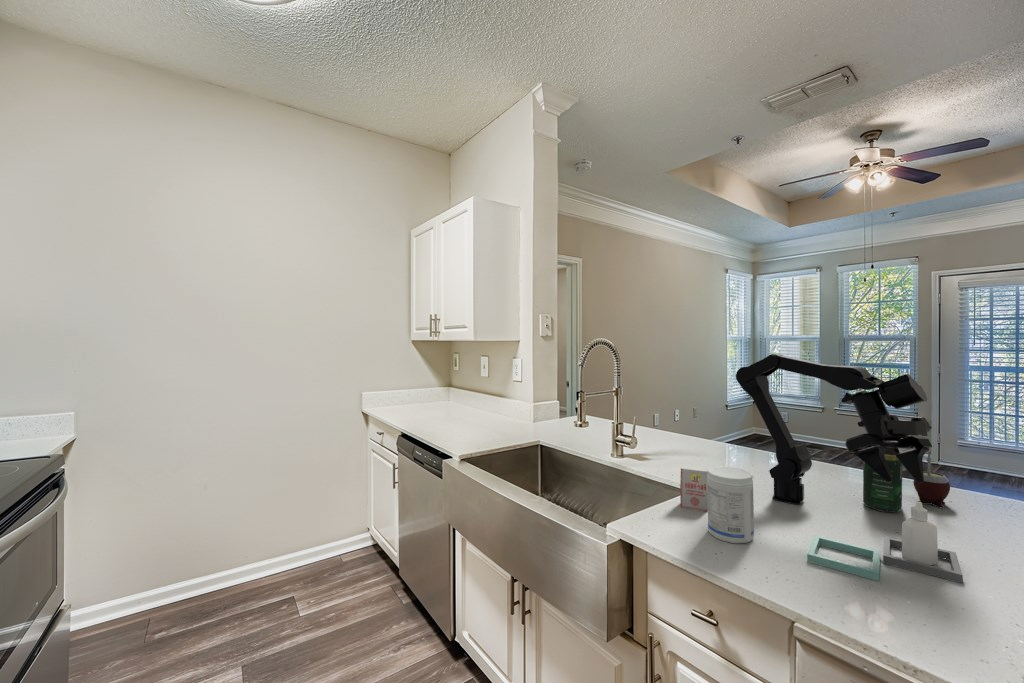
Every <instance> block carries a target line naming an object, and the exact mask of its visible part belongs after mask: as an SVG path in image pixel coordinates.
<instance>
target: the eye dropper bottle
mask: <svg viewBox="0 0 1024 683" xmlns="http://www.w3.org/2000/svg"><path fill="white" fill-rule="evenodd" d="M919 501H920V500H918V501H916V504H915V506H911V507H910V517H911V518H907V519H906V520H904V521H903V522H902V524H901V540H902V549H901V558H903V559H907V560H911V561H915V562H920V563H924V564H928V565H932V566H935V565H937V564H938V562H939V561H938V549H939V548H938V545H939V544H938V527H937V525H936V524H935V523H933V522H932V521H929V520H928V519H929V518H928V512H929V510H927V509H926V508H924V507H923V504H922V502H919Z"/></svg>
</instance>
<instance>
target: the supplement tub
mask: <svg viewBox="0 0 1024 683" xmlns="http://www.w3.org/2000/svg"><path fill="white" fill-rule="evenodd" d="M707 471H708V475H707V502H708V511H707V529H708V532H709V534H710V535H711V536H713V537H715V538H716V539H717V540H720V541H723V542H726V543H730V544H731V543H732V544H747V543H749V542H751V541H752V540H753V539H754V537H755V520H754V519H755V518H754V517H755V514H754V513H755V512H754V507H755V506H754V480H753V474H752V473H751V472H750V471H748V470H745V469H743V468H740V467H734V466H725V465H721V466H720V465H719V466H711V467H709V468H708V469H707Z"/></svg>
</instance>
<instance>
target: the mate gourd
mask: <svg viewBox="0 0 1024 683" xmlns="http://www.w3.org/2000/svg"><path fill="white" fill-rule="evenodd" d="M931 457H932V452H931V451H928V452H927V458H926V462H927V471H926V470H925V471H924V470H923V475H924V482H920V483H919V482H917V481H916V480H915V479H914V478H913V486H914V488H915V491H916V493H917V495H918V499H919V500H918V501H919V502H922V503H932V504H931V505H933V504H934V505H933V506H935V505H936V507H937V506H938V508H940V507H942V508H941V509H943V508H944V505H945V504H946V501H945V499H946V498H947V497H948V496H949V494H950V491H951V484H950V481H949V479H948V478H947V477H946V475H944V474H941V473H939V472H934V471H931V467H932V466H931V465H932V464H931V462H932V458H931Z"/></svg>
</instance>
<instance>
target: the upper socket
mask: <svg viewBox="0 0 1024 683" xmlns="http://www.w3.org/2000/svg"><path fill="white" fill-rule="evenodd" d="M882 545H883V548H882V549H883V550H882V563H883V564H885V565H890V566H893V567H899V568H901V569H906V570H910V571H912V572H913V571H914V572H918V573H921V574H924V573H925V575H928V574H929V576H932V575H933V577H936V576H937V578H940V579H944V578H945V580H948V579H949V580H948V581H951V582H957V583H959V584H963V582H964V581H963V578H964V576H963V572H962V569H961V565H960V562H959V559H958V555H957V552H955V551H951V550H946V549H942V548H938V557H941V558H940V559H943V558H946V559H945V560H947V559H949V560H950V561H949V560H948V561H949V564H950V567H951V568H950V569H947V568H944V567H939V566H935V565H928V564H924V563H920V562H915V561H911V560H907V559H903V558H902V557H898V556H894V555H891V546H893V548H895V547H897V549H900V548H901V550H902V539H898V538H892V537H889V536H884V535H883V544H882Z"/></svg>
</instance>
